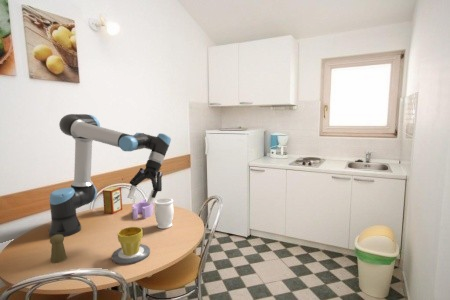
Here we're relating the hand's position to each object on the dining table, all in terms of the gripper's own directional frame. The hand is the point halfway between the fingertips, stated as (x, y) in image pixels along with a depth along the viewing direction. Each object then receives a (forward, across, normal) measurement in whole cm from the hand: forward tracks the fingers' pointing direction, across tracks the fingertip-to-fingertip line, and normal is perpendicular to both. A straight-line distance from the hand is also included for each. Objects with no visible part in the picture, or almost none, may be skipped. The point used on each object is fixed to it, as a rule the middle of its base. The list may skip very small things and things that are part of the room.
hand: (139, 201), depth 130 cm
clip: (+5, +26, -36) cm, 45 cm away
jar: (+8, 0, -27) cm, 28 cm away
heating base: (+24, -9, +1) cm, 25 cm away
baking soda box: (+10, +48, -31) cm, 58 cm away
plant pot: (+22, -9, +2) cm, 24 cm away
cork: (+34, +17, +15) cm, 41 cm away
